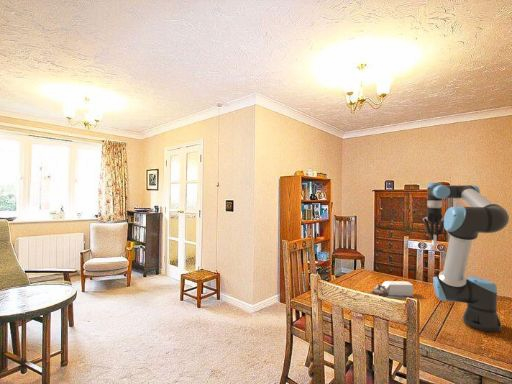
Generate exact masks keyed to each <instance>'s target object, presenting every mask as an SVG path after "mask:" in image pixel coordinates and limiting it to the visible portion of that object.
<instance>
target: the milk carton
mask: <svg viewBox="0 0 512 384" xmlns="http://www.w3.org/2000/svg"><path fill="white" fill-rule="evenodd" d="M381 285H382V286H385V287H386V290H387V293H388V294H389V295H396V296H410V297H413V296H414V284H412V283H411V282H409V281H405V280H404V281H400V280H399V281H397V280H396V281H394V280H384V281H383V283H382V284H381Z"/></svg>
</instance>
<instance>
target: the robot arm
mask: <svg viewBox="0 0 512 384" xmlns="http://www.w3.org/2000/svg"><path fill="white" fill-rule="evenodd" d="M426 190H427V196H426V197H427V202H426V204H427V209H426V217H424V218H423V217H422V221H423V222H424V227H425V230H426V233H427V234H429V235H430V236H429V237H430V238H429V239H430V240H431V245H432V246H434V247H436V246H437V243H438V242H437V241H439V235H442V234H443V230H445V231H446V233H447V234H448V235H449V239H448V244H447V250H446V255H445V259H444V260H445V262H444V265H443V270H442V271H440V272H439V274H438V276H437V275H436V276H434V277H433V279H432V283H433V284H432V285H433V290H434V294H435V296H436V298H437V299H438V300H441V301H445V302H452V303H453V302H455V303H465V304H466V308H465V311H464V313H463V315H462V321H463V323H464V324H465V325H467V326H469V327H471V328H473V329H476V330H479V331H483V332H488V333H489V332H490V333H499V332H501V331H502V323H501V320H500V318H499V315H498V312H497V311H498V310H497V309H498V289H497V284H496V283H494V282H493V281H491V280H489V279H485V278H482V277H479V276H474V275H473V276H472V275H469V276H466V277H465V272H466V268H467V264H468V260H469V256H470V251H471V249H472V248H471V247H472V243H473V241H474V240H476V239H477V238H478V236H479V233H481V234H491V233H492V234H493V233H497V232H499V231H502V230H503V229H504V228H506V227H507V225H508V223H509V221H510V215H509V213H508V211H507V210H506V209H505V208H504V207H502V206H501V205H500V204H497V203H493V202H492V201H490V200H489V199H488V198H487V197H485V196H484V195H482V194H481V193H480V188H479V186H477V185H470V184H469V185H468V184H467V185H466V184H465V185H462V184H461V185H456V184H455V185H450V184H449V185H445V184H443V183H441V182H429V183H428V184H427V187H426ZM442 199H462V200H463V201H464V202H465V203H466V204H467V205H469V206H451V207H449V208H447V210H446V211H445V213H444V216H443V215H442V213H443V211H442V209H443V208H442V207H443V204H442V203H443V202H442V201H443V200H442ZM428 221H429V222H428ZM429 224H430V225H429Z"/></svg>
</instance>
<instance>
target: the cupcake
mask: <svg viewBox="0 0 512 384" xmlns="http://www.w3.org/2000/svg"><path fill="white" fill-rule="evenodd" d="M371 294H375V295H379V296H383V297H388V293H387V290H386V287H385V286H382V284H381V285H380V284H376V286H375V287H374V288H372V291H371V292H370V295H371Z"/></svg>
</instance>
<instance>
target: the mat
mask: <svg viewBox="0 0 512 384" xmlns="http://www.w3.org/2000/svg"><path fill="white" fill-rule="evenodd" d="M388 297H389V298H388V299H395V300H396V299H397V300H398V299H399V300H407V299H406V298H407V297H411V296H396V295H389V294H388Z"/></svg>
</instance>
